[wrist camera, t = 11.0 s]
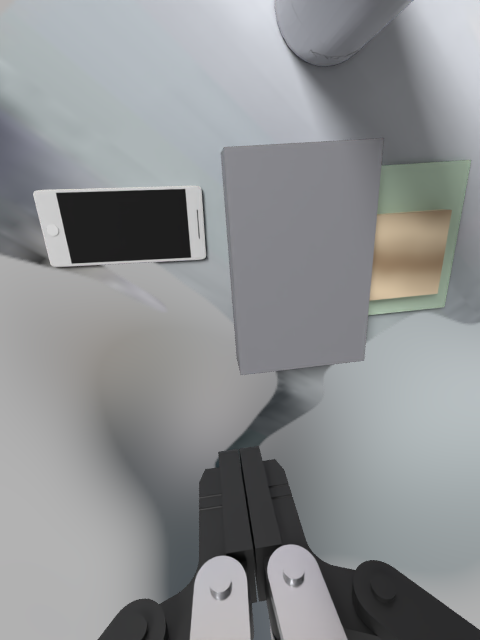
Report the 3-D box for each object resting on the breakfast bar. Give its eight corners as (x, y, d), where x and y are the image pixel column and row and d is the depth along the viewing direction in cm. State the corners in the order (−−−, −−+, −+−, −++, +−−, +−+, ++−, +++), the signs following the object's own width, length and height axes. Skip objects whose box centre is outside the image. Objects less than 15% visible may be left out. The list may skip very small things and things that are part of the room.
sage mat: (365, 166, 32) (368, 166, 32) (466, 160, 33) (471, 159, 33) (354, 314, 38) (357, 316, 38) (440, 305, 39) (444, 307, 39)
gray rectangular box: (220, 153, 30) (223, 147, 27) (362, 144, 31) (383, 138, 28) (236, 357, 38) (240, 375, 35) (348, 345, 40) (364, 360, 36)
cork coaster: (361, 215, 33) (368, 216, 32) (441, 209, 34) (452, 209, 33) (355, 297, 37) (361, 301, 35) (428, 290, 37) (437, 293, 36)
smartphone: (36, 190, 30) (31, 190, 29) (201, 185, 32) (201, 185, 31) (54, 265, 33) (50, 267, 32) (206, 258, 34) (206, 259, 33)
